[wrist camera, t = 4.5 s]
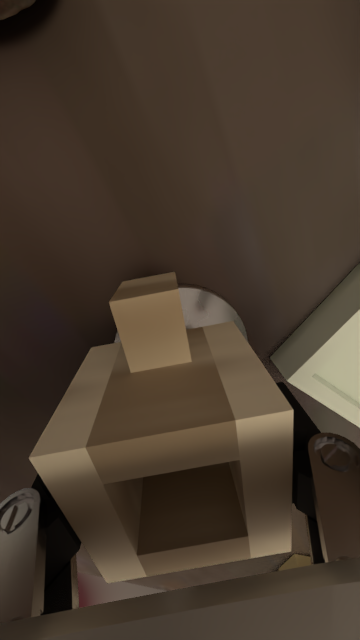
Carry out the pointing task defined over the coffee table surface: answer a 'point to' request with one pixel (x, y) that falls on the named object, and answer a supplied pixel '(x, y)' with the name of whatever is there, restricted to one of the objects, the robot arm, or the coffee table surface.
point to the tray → (328, 351)
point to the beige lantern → (170, 444)
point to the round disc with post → (204, 309)
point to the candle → (13, 7)
